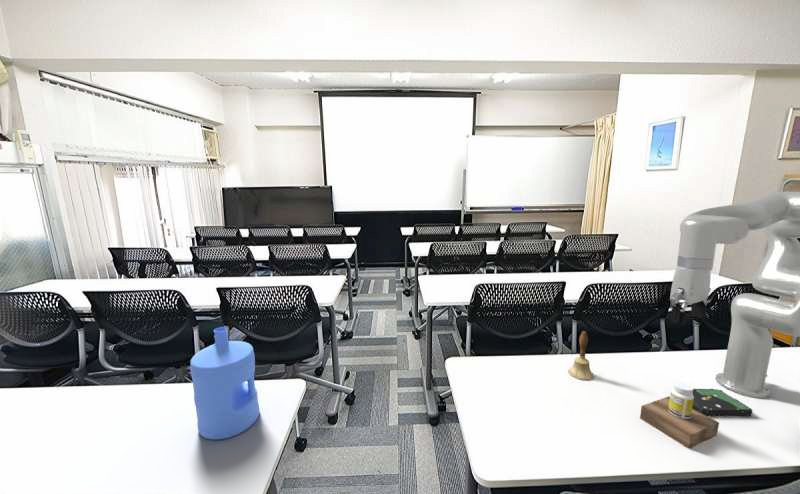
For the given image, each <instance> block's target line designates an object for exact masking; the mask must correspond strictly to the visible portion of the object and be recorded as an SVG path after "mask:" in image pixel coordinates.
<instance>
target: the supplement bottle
mask: <svg viewBox="0 0 800 494" xmlns="http://www.w3.org/2000/svg"><path fill="white" fill-rule="evenodd" d="M672 387H673V388H671V389H670V395H669V397H670V401H669V408H668V410H669V412H670V413H671V414H673V415H674V416H676V417H679V418H683V419H689V418H690V417H691V413H692V407H693V400H694V396H693V389H694V387H693V386H691V385H690V384H688V383H685V382H682V381H674V383H673V386H672Z"/></svg>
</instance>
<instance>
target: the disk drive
mask: <svg viewBox="0 0 800 494" xmlns="http://www.w3.org/2000/svg"><path fill="white" fill-rule="evenodd" d="M693 396H694V400H693V407H692V409H694V410H696V411H698V412H700V413H702V414H704V415H706V416H708V417H709V418H711V417H743V418H745V417H752V414H753V409H752V408H751V407H749V406H747V405H746V404H745V403H742V402H741V401H739V399H737V398H734V397H733V396H731V395H729V394H728V393H726V392H725V391H723V390H722V389H717V388H716V389H714V388H693Z"/></svg>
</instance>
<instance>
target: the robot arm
mask: <svg viewBox="0 0 800 494" xmlns="http://www.w3.org/2000/svg"><path fill="white" fill-rule="evenodd" d="M762 229H764V231H765V235H766V238H767V239H766V240H767V244H768V245H767V246H768V247H767V252H766V254H765V256H764V257H763V259H762V261H761V263H760V265H759V267H758V268H757V271H756V272H755V274H754V275H753V278H752V283H751V285H752V287H753V288H754V289H755V290H756V291H759V292H761V293H763V294H768V295H772V296H776V297H781V298H784V299H790V300H795V302H793V301H787V300H783V299H780V298H779V299H778V298H775V297H772V296H768V295H767V296H766V295H761V294H757V293H749V292H748V293H747V292H746V293H740V294H738V295H736V296H734V297H733V299H732V300H731V303H730V304H731V305H730V314H731V326H730V334H729V340H728V345H727V349H726V356H725V359H724V367H723V371H722V372H720V373H717V374H716V375H715V381H716V382H717V383H718V384H719V385H720V386H722V387H724V388H726V389H727V390H729V391H732V392H734V393H737V394H740V395H744V396H747V397H752V398H762V399H766V398H769V396H770V395H771V389H769V387H767V386H766V385H765V383H766V378H767V377H768V369H769V368H768V367H769V364H770V359H771V355H772V354H771V353H772V349H773V346H774V339H773V336H772V334H771V332H770V330H772V331H775V332H778V333H781V334H783V335H784V334H785V335H788V336H793V337H800V240H798V238H799V239H800V191H776V192H771V193H767V194H764V195H761V196H759V197H757V198H753V199H751V200H748V201H746V202H745V201H744V202H741V203H740V202H739V203H735V204H734V203H733V204H727V205H720V206H713V207H709V208H705V209H704V208H703V209H700V210H698V211H696V212H693V213H690V214H688V215H687V216H686V217H685V218H683V219H682V221H681V223H680V225H679V232H680V236H679V244H678V252H677V253H678V254H677V262H676V269H675V272H674V275H673V278H672V279H673V280H672V284H671V288H670V296H669V301H670V303H669V304H670V309H671V310H670V311H671V312H670V322H671V323H674V324H676V325H679V326H685V324H686V323H685V322H686V317H687V315H686V314H687V312H686V308H688V305H691V308H690V316H692V317H695V318H697V319H698V318H699V319H702V320H703V319H705V318H706V312H707V304H708V299H709V298H710V293H711V291H712V289H711V274H712V273H711V271H713V269H714V263H715V255H716V250H717V249H716V247H717V245H718V244H719V245H720V244H721V245H733V244H737V243H740V242H742V241H744V240H745V238H747V236H748V234H749V231H756V230H762Z"/></svg>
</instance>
